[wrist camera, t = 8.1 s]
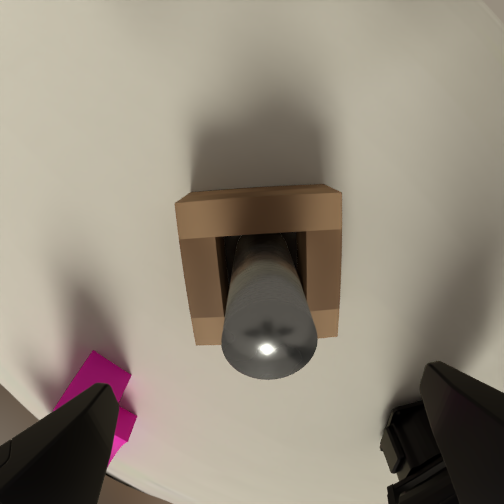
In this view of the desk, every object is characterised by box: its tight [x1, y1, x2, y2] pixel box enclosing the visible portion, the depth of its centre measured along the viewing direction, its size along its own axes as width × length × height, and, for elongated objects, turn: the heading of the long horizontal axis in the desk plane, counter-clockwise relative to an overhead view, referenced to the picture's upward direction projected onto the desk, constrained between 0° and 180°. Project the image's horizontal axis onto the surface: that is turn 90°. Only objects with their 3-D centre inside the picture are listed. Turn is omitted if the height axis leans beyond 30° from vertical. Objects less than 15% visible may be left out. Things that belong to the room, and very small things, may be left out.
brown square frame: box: [175, 184, 342, 345], centre depth 18 cm, size 8×8×4 cm
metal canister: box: [221, 233, 318, 380], centre depth 15 cm, size 3×3×10 cm
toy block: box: [53, 350, 137, 467], centre depth 21 cm, size 15×6×8 cm, turn 144°
